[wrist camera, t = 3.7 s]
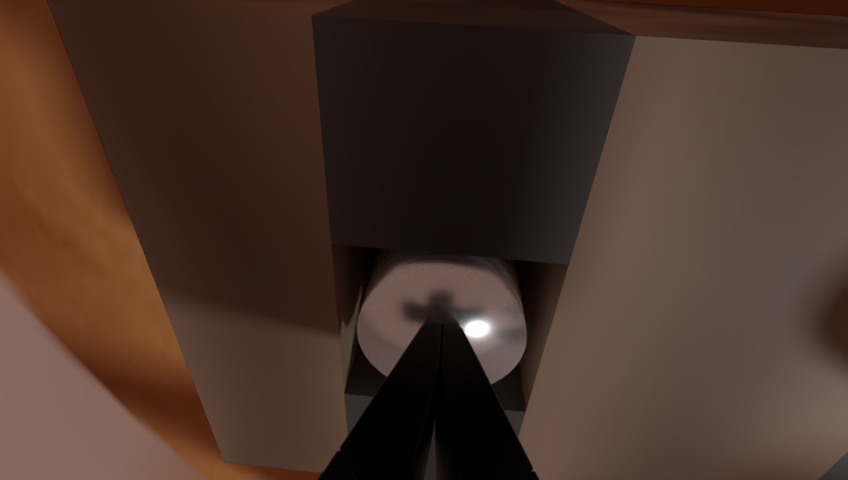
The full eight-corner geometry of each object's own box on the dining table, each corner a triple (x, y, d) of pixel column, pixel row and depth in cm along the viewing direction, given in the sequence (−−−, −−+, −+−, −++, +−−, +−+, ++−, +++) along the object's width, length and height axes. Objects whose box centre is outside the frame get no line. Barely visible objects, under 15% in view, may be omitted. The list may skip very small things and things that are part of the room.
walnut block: (1172, 36, 11) (1993, 123, 5) (875, 356, 17) (1081, 555, 12) (252, -20, 12) (46, -2, 6) (300, 303, 18) (224, 462, 13)
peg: (510, 145, 14) (542, 280, 8) (494, 238, 16) (511, 400, 10) (399, 137, 14) (353, 264, 8) (398, 230, 16) (359, 385, 10)
